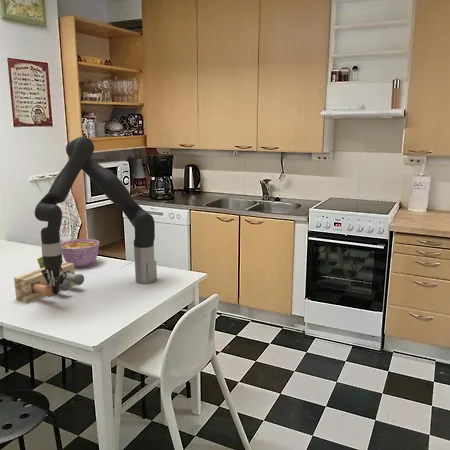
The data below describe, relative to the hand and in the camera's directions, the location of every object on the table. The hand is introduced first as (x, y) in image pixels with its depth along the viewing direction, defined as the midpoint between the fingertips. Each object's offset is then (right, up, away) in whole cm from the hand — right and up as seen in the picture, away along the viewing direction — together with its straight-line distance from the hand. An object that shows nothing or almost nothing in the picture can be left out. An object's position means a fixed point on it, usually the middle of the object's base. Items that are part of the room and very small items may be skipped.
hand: (55, 293), depth 190 cm
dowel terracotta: (-8, -1, +5) cm, 9 cm away
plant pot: (-17, +3, +37) cm, 41 cm away
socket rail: (-10, -2, +16) cm, 18 cm away
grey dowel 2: (+1, +2, +18) cm, 18 cm away
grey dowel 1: (-3, 0, +12) cm, 12 cm away
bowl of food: (-6, +7, +53) cm, 54 cm away
